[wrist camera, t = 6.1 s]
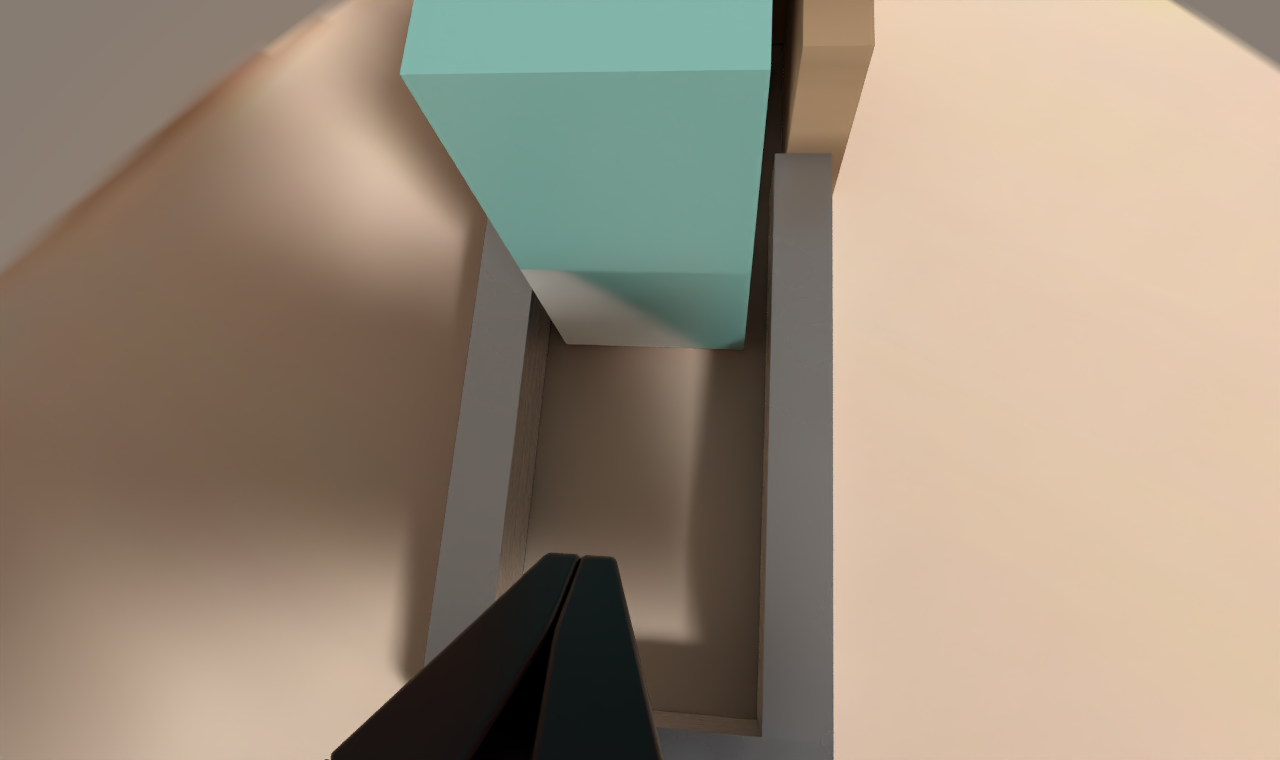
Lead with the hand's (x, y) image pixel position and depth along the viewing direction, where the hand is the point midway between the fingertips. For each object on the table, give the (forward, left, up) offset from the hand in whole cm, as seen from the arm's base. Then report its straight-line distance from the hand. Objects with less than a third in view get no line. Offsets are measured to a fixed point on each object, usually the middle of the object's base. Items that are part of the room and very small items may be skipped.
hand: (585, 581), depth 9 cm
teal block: (+7, +6, -6) cm, 11 cm away
